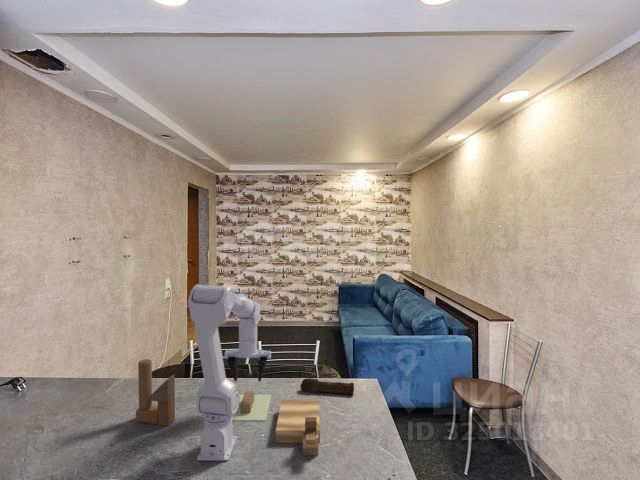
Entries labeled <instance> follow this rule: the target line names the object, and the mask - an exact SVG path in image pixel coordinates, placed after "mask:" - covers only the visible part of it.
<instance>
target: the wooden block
mask: <svg viewBox="0 0 640 480" xmlns="http://www.w3.org/2000/svg"><path fill="white" fill-rule="evenodd" d="M152 362H153V361H152V360H151V359H149V358H148V359H147V358H146V359H145V358H144V359H142V360H139V361H138V362H137V364H138V365H137V370H138V373H137V374H138V408H137V409H136V410H135V421H136V423H137V422H138V423H144V424H152V425H158V426H164V427H168V426H170V425H171V424H172V423H174V421H175V420H176V398H175V396H176V393H175V392H176V386H175V385H176V381H175V380H176V378H175V377H176V375H175V374H172V375H171V376H170V377H168V378H167V379H166V380H165V381H164V382H162V383H161V385H159V387H158V388H157V389H156V390H155V391H153V373H152V372H153V371H152V370H153V369H152V368H153V366H152V365H153V363H152ZM153 401H154V402H157V405H153Z"/></svg>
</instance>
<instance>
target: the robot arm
mask: <svg viewBox="0 0 640 480" xmlns="http://www.w3.org/2000/svg"><path fill="white" fill-rule="evenodd" d="M187 304H188V309H189V310H188V311H189V313H190V319H191V320H190V321H192V322H193V323H194V331H195V337H196V344H197V348H198V354H199V359H200V363H201V369H202V374H203V375H202V376H203V380H204V381H203V382H202V383H201V384H200V385H199V387H198V388H197V391H196V410H197V411H198V413H200V414H201V418H203V430H202V432H201V435H200V450H199V453H198V455H197V458H196V461H210V462H211V461H213V462H214V461H219V462H220V461H228V460H229V459H230V458H231V454H232V452H233V448H234V447H235V443H236V441H237V439H238V438H237V435H233V421H232V416H233V415H234V414H235V413H236V412H237V409H238V406H239V401H240V396H239V395H240V394H239V393H240V392H239V391H238V390H237V386H236V384H235V383H234V382H237V380H238V378H239V371H238V369H239V368H238V367H239V365H238V364H239V359H258V362H257V364H258V376H257V377H258V379H257V382H261V381H262V376H263V371H264V368H265V365H267V361H268V360H271V358H272V351H271V350H264V349H258V324H259V322H260V314H261V305H260V303H259V302H257V301H255V300H254V301H252V300H250V298H249V297H247V296H246V295H245V293H243V292H241V293H240V292H239V293H238V294H237V293H235V288H234V287H232V286H231V285H226V286H224V285H223V286H221V285H205V284H203V285H202V284H194V286H193V287H192V289H191V290H190V292H189V297H188V300H187ZM231 313H233V314H235V316H236V319H238V349H232V350H228V349H227V350H225V352H224V357H223V352H222V347H221V339H220V332H219V327H220V326H222V325H223V324H226V322H227V320H228V318H229V315H230V314H231ZM224 359H225V360H226V359H227V361H226V362H227V365H228V366H229V369H230V370H231V373H232V376H233V381H234V382H232V381H231V380H230V379H228V378H227V376H226V371H225V370H226V369H225V365H224ZM229 461H230V460H229Z"/></svg>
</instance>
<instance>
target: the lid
mask: <svg viewBox="0 0 640 480" xmlns="http://www.w3.org/2000/svg"><path fill="white" fill-rule="evenodd" d="M239 396H240V401H239V406H238V409H237V412H236V413H235V414H234V415H233V416H232V422H266V420H267V418H268V417H267V415H268V412H269V409H270V408H269V407H270V404H271V400H272V396H273V395H272V394H255V391H254V390H253V391H252V390H251V391H250V390H249V391H248V390H247V391H244V394H239Z"/></svg>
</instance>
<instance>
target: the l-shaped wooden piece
mask: <svg viewBox="0 0 640 480" xmlns="http://www.w3.org/2000/svg"><path fill="white" fill-rule="evenodd" d="M316 430H317V417H305V435H306V445H315V435H316Z"/></svg>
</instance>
